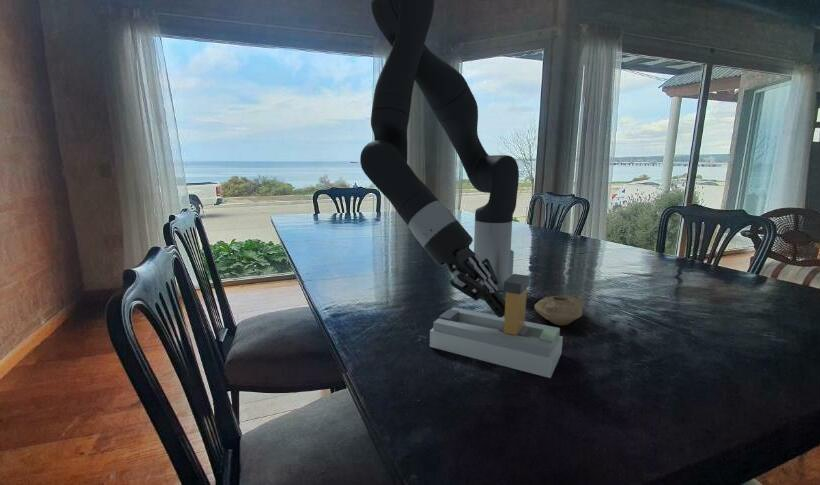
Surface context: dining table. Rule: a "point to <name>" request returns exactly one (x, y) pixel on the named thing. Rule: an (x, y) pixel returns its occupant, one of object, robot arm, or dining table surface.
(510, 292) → the breaker lever
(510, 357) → the base
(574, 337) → the dining table surface
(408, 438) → the dining table surface
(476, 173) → the robot arm
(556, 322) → the pottery oil lamp
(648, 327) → the dining table surface
